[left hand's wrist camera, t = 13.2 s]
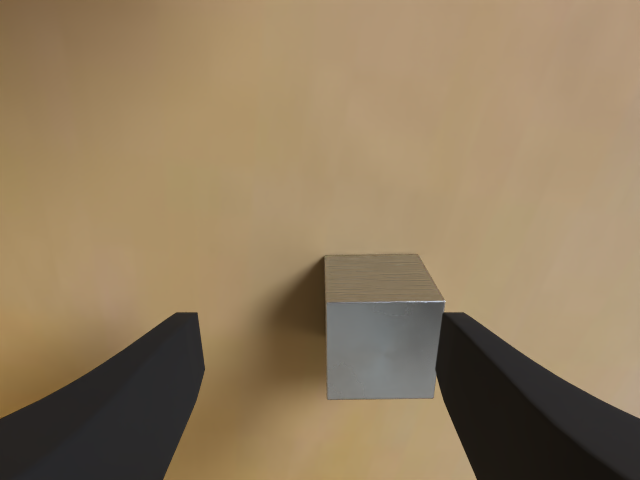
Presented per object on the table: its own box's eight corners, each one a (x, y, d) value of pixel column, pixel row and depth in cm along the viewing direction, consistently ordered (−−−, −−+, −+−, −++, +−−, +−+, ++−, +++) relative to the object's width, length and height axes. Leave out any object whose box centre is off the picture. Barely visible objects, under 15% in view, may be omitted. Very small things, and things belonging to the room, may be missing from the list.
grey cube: (324, 255, 17) (325, 302, 13) (418, 253, 17) (446, 300, 13) (325, 337, 19) (326, 400, 15) (411, 336, 19) (434, 399, 15)
